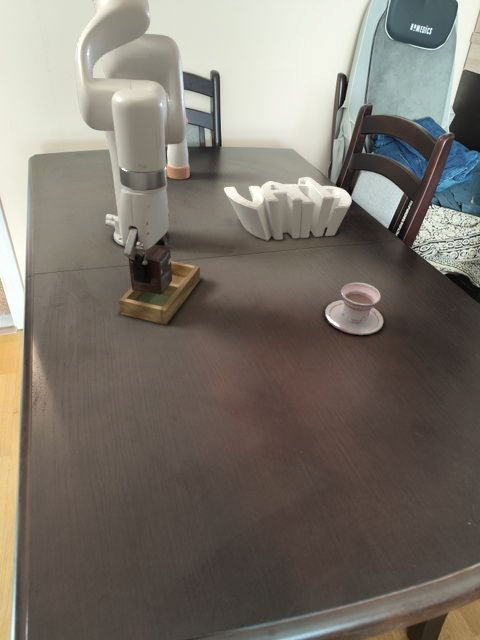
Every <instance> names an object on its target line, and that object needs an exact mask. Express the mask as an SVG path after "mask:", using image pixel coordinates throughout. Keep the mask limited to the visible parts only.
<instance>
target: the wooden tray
mask: <svg viewBox="0 0 480 640" xmlns="http://www.w3.org/2000/svg"><path fill="white" fill-rule="evenodd" d="M171 268H172V281H171V283H170V284H169V286H168V287H167V289H166V290H165V291H164V292H163V294H162V295H158V294H152V293H147V292H140V291H135V290H132V286H131V287H130V288H129V289H128V290H127V291H126V292H125V293H124V295H122V297H120V298H119V300H118V301H119V309H120V315H122V316H127V317H132V318H135V319H140V320H145V321H148V322H152V323H156V324H162V325H168V323H169V322H170V320H171V319H172V317H173V316H174V315H175V314H176V313H177V311H178V310H179V308H180V307H181V306H182V304H183V303H184V302H185V300H186V299H187V298H188V296H189V295H190V294H191V292H192V291H193V289H195V287H196V286H197V284H198V283H199V282H200V281H201V267H200V266H197V265H193V264H188V263H183V262H179V261H175V260H171Z"/></svg>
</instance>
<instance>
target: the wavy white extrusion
mask: <svg viewBox="0 0 480 640" xmlns="http://www.w3.org/2000/svg"><path fill="white" fill-rule="evenodd" d="M248 189H249V193H250V196H251V200H252V201H251V200H248V199H246V198H245V197H243V196H242V195H241V194H240V193H238V191H237V188H236V187H235V186H225V187H223V191H224V193H225V195H226V197H227V199H228V200H229V202H230V204H231V206H232V208H233V210H234V212H235V214H236V215H237V217H238V220H239V221H240V223H241V225H242V226H243V227H244V229H245V230H246V231H247V232H249V233H250V234H252V235H253V236H255V237H257V238H259V239H261V240H264V241H267V242H268V241H269V240H270V239H271V237H272V238H273V239H274V240H275V241H276V240H279V241H280V240H283V239H284V237H283V233H286V234H287V233H288V234H289V235H290V236H291V238H292V239H307V238H309V237H310V232H311V234H312V235H313V237H314V238H315V237H316V238H317V237H318V238H319V237H323V236H324V237H330V236H332V237H333V236H335V235H336V233H337V232H338V230H339V227H340V226H341V223H342V222H343V220H344V218H345V216H346V214H347V212H348V210H349V209H350V206H351V204H352V202H353V201H352V200H353V199H352V196H351V195H350V194H349V192H347V190H345V189H344V188H342V187H337V186H333V185H321V184H320V183H318V182H317V181H315V180H314V179H313V178H312V177H310V176H305V177H304V176H303V177H299V178H298V179H297V183H284V184H283V183H280V182H277V181H274V180H269V181H266V182H265V183H264V184H262V185H261V187H260V186H259V185H250V186H248ZM326 228H327V229H326ZM325 229H326V231H325ZM324 233H325V234H324Z"/></svg>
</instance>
